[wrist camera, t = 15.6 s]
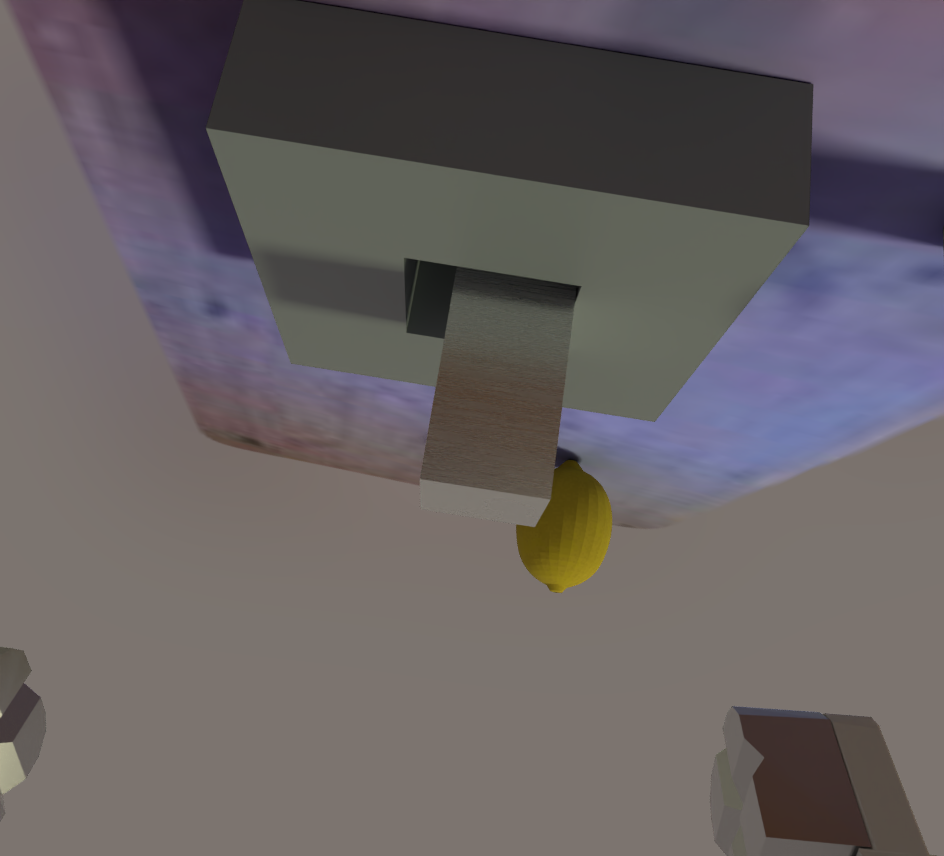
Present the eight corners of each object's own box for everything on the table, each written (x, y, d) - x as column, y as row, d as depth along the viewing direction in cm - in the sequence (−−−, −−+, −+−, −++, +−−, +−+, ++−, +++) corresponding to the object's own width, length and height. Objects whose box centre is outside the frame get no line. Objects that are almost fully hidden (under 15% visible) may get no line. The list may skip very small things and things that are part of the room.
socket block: (246, -8, 21) (206, 128, 20) (813, 84, 21) (809, 225, 20) (312, 270, 35) (290, 363, 33) (662, 327, 35) (654, 421, 33)
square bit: (474, 161, 26) (419, 479, 23) (589, 180, 26) (550, 499, 23) (469, 223, 30) (420, 509, 27) (571, 240, 30) (534, 527, 27)
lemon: (573, 478, 56) (558, 603, 54) (507, 453, 53) (488, 584, 51) (637, 466, 52) (625, 601, 50) (570, 438, 49) (552, 580, 47)
